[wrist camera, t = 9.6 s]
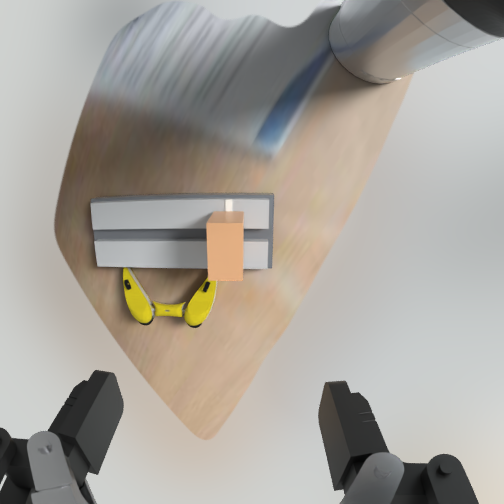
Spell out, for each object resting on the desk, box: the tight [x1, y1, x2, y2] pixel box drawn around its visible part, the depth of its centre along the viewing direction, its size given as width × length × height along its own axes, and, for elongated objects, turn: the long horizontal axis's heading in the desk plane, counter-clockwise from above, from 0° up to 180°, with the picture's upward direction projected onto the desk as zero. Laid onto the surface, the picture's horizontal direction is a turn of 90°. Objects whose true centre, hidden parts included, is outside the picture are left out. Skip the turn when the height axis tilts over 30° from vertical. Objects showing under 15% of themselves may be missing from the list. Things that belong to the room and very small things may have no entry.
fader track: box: [91, 193, 274, 269], centre depth 29 cm, size 18×7×3 cm, turn 89°
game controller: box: [123, 267, 218, 328], centre depth 31 cm, size 10×6×4 cm, turn 90°
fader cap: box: [206, 211, 244, 281], centre depth 25 cm, size 3×4×6 cm, turn 0°
